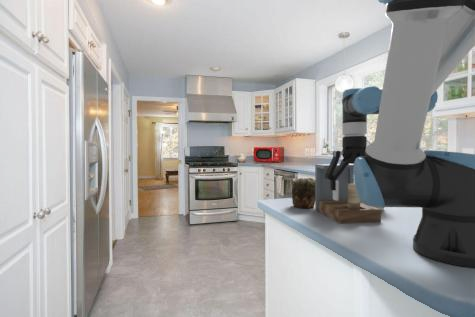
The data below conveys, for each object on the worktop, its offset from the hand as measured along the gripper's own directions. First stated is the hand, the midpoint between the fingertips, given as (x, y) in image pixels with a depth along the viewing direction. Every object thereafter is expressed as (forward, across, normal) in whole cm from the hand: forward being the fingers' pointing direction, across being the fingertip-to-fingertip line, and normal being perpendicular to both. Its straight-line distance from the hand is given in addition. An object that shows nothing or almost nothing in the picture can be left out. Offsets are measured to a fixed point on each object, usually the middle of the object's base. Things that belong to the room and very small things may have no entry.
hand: (354, 199), depth 91 cm
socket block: (+7, 0, -5) cm, 8 cm away
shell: (+7, +9, -22) cm, 25 cm away
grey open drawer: (+7, 0, -11) cm, 13 cm away
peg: (+7, 0, 0) cm, 7 cm away
